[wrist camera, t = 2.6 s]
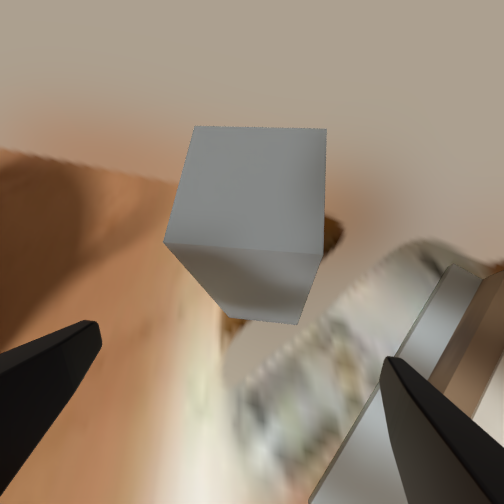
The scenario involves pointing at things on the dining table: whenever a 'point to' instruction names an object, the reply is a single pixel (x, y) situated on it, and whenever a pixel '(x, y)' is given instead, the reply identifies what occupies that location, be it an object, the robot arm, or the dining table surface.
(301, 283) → the post
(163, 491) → the dining table surface
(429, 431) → the robot arm
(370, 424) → the plinth
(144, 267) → the dining table surface
